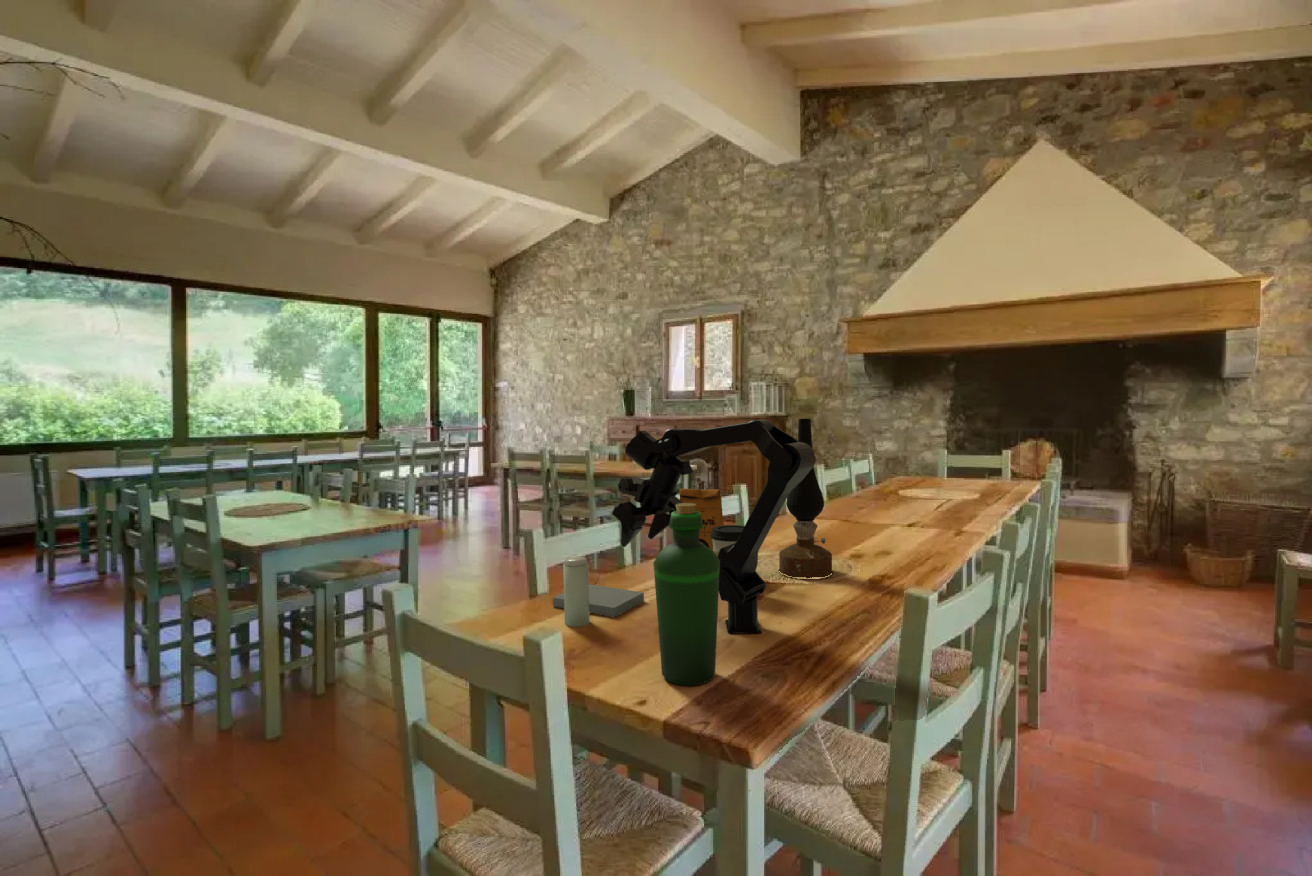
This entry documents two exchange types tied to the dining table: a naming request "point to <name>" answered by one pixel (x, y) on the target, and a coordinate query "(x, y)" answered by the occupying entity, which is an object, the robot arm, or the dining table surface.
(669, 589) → the bottle
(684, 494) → the coffee package
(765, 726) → the dining table surface
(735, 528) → the coffee cup
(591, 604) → the slate board
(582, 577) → the shaker
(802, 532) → the oil lamp
